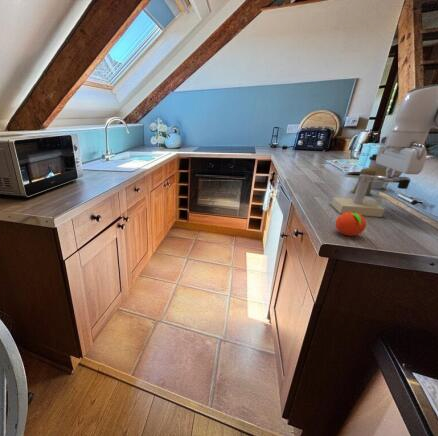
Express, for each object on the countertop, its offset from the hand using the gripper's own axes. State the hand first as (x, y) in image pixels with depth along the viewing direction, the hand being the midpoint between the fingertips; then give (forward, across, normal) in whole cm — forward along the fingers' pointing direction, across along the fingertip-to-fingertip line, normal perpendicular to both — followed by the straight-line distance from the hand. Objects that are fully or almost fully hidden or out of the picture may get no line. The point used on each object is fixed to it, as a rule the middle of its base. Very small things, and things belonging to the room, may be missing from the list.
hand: (390, 181), depth 85 cm
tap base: (+11, -3, +9) cm, 14 cm away
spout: (+1, -3, +4) cm, 5 cm away
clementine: (+11, -27, +19) cm, 35 cm away
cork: (+11, +22, -2) cm, 25 cm away
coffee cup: (+11, +34, -11) cm, 37 cm away
